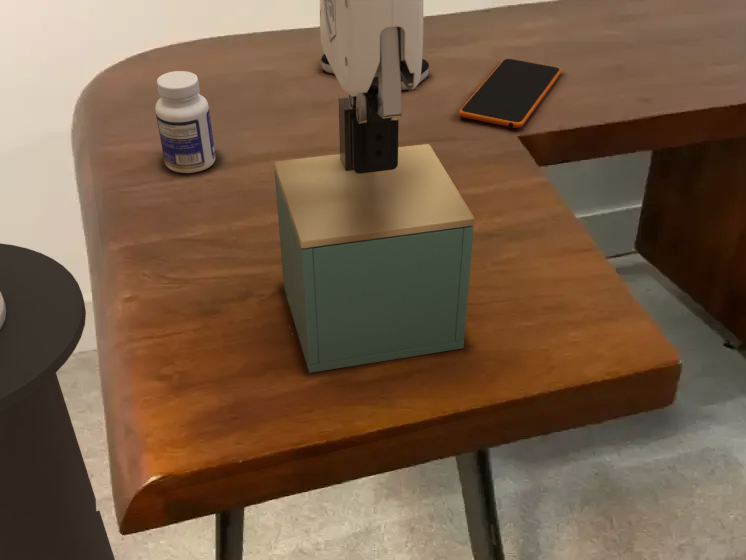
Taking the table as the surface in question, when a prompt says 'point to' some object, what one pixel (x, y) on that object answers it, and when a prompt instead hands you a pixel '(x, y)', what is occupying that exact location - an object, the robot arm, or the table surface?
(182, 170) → the pill bottle
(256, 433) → the table surface
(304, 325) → the box
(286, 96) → the table surface
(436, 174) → the slide lid
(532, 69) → the smartphone
